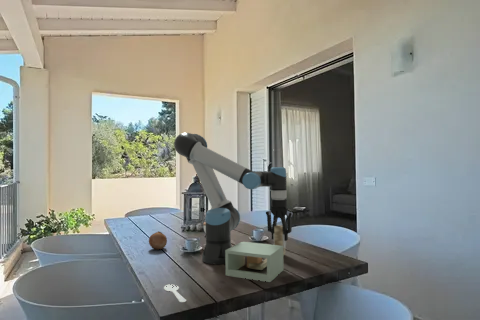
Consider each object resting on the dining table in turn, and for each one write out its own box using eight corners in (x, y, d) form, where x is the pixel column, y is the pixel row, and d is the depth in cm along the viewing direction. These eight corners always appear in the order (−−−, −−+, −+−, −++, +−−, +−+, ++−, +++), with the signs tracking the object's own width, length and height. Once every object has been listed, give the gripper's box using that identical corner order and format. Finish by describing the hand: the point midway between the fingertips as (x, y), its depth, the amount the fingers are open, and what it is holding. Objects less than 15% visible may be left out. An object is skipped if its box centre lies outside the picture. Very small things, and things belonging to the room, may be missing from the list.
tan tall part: (248, 268, 146) (248, 235, 146) (272, 252, 170) (271, 224, 170) (263, 270, 142) (263, 236, 142) (285, 254, 167) (284, 225, 167)
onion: (158, 252, 184) (160, 234, 189) (169, 250, 179) (171, 231, 183) (143, 249, 177) (146, 230, 182) (155, 247, 172) (157, 228, 177)
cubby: (225, 275, 138) (225, 250, 138) (242, 264, 152) (242, 241, 152) (270, 282, 129) (269, 255, 129) (283, 269, 144) (283, 245, 144)
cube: (247, 267, 148) (246, 256, 148) (251, 264, 152) (251, 253, 152) (257, 269, 145) (257, 257, 145) (262, 265, 150) (261, 254, 150)
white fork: (176, 304, 111) (176, 303, 111) (161, 286, 127) (161, 285, 127) (191, 301, 113) (191, 299, 113) (175, 284, 129) (175, 282, 129)
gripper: (298, 198, 165) (299, 246, 165) (265, 197, 173) (266, 243, 173) (293, 200, 159) (294, 250, 158) (259, 199, 166) (260, 246, 166)
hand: (279, 246), depth 166 cm, fingers closed on tan tall part, 4 cm apart
